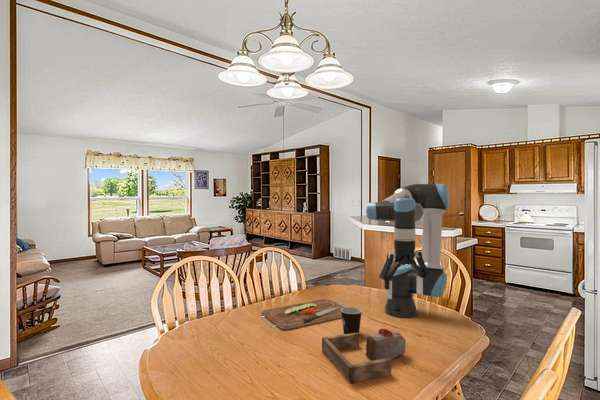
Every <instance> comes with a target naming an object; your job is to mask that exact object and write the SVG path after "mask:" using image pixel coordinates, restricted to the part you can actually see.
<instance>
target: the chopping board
mask: <svg viewBox="0 0 600 400" xmlns="http://www.w3.org/2000/svg"><path fill="white" fill-rule="evenodd" d="M327 301H328V302H327ZM329 302H330V303H329ZM331 303H332V304H331ZM333 304H334V305H333ZM345 307H348V306H347V305H345V304H343V303H341V302H338V301H336V300H335V301H334V300H331V299H329V298H327V299H326V298H321V299H317V300H312V301H311V300H310V301H306V302H301V303H294V304H291V305H290V304H289V305H284V306H279V307H273V308H268V309H264V310H262V311H261V315H259V318H260V319H261V320H262V321H263V322H264V323H266V324H267V325H268V326H269V327H270V328H272V329H275V328H277V329H279V330H280V331H283V332H286V331H293V330H297V329H301V328H306V327H311V326H314V325H319V324H324V323H328V321H329V322H332V321H337V319H338V320H342V314H341V309H342V308H345ZM267 320H268V321H267ZM269 322H270V323H269Z"/></svg>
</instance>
